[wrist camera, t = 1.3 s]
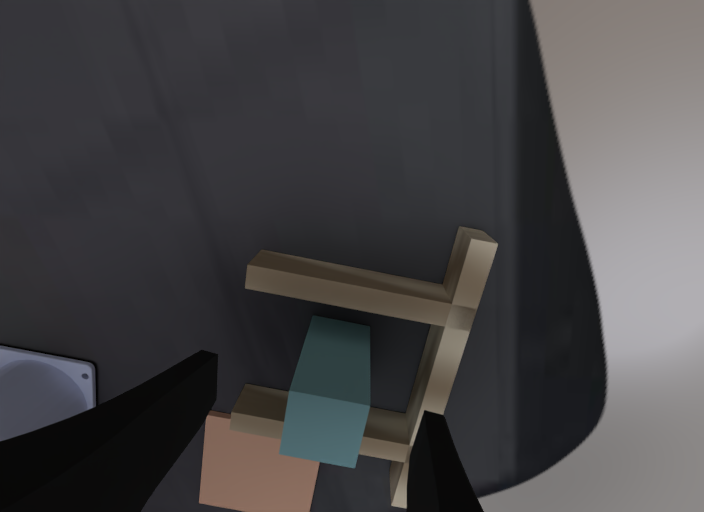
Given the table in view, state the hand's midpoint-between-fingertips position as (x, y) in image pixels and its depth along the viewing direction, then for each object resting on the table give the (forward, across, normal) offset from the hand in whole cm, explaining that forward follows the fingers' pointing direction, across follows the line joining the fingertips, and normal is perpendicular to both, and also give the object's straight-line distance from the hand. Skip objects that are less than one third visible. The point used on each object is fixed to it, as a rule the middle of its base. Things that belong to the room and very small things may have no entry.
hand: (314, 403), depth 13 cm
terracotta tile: (+11, +5, +18) cm, 22 cm away
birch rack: (+12, 0, +7) cm, 14 cm away
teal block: (+12, +1, +7) cm, 14 cm away
